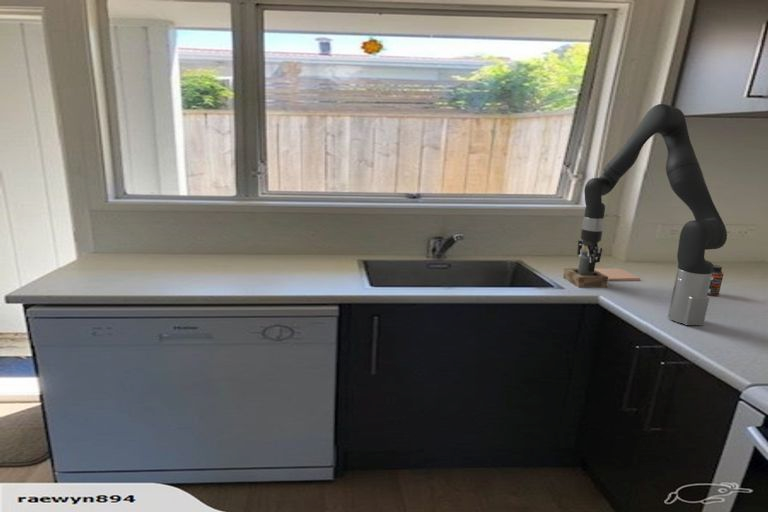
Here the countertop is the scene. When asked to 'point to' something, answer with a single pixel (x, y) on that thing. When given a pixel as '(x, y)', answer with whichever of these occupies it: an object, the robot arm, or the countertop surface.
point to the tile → (617, 275)
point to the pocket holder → (585, 278)
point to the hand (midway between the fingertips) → (586, 268)
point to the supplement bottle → (715, 281)
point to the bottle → (584, 263)
